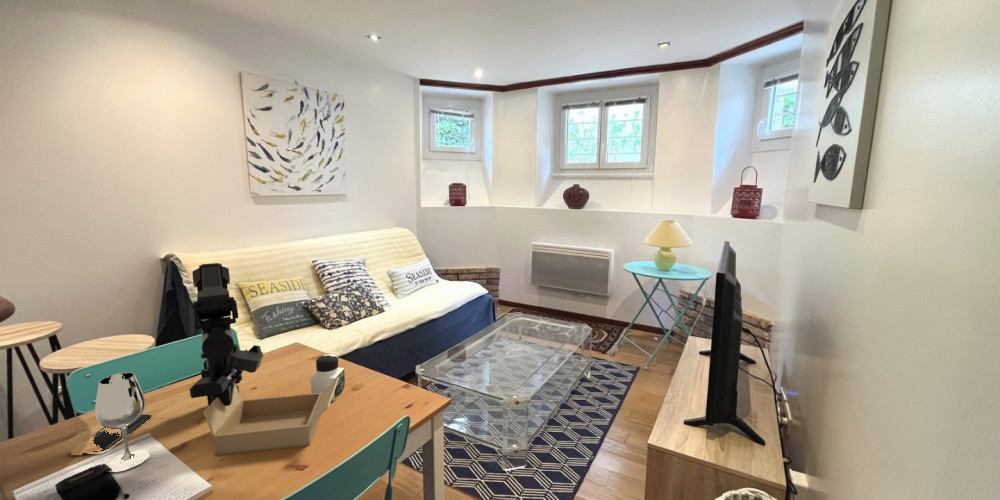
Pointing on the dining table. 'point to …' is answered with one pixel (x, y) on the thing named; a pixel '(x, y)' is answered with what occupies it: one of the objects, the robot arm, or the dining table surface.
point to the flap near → (220, 411)
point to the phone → (109, 440)
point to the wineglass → (119, 404)
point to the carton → (268, 424)
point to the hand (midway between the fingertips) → (228, 405)
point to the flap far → (324, 400)
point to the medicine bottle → (328, 375)
